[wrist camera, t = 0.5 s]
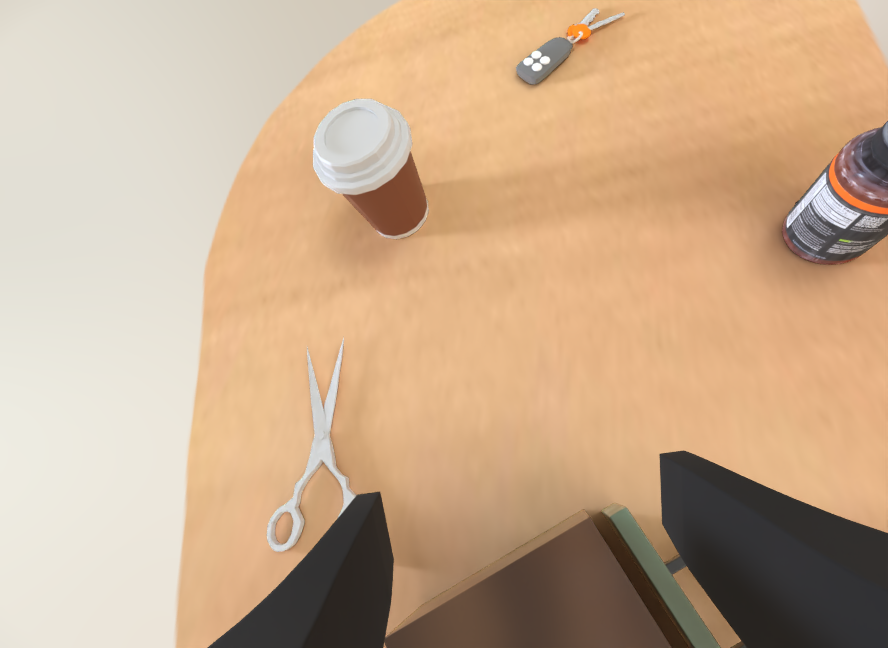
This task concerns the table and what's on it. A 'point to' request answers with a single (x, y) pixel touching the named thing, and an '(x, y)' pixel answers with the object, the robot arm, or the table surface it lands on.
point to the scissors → (314, 458)
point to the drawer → (661, 578)
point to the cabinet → (539, 600)
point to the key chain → (557, 50)
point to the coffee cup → (372, 165)
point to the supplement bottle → (844, 204)
